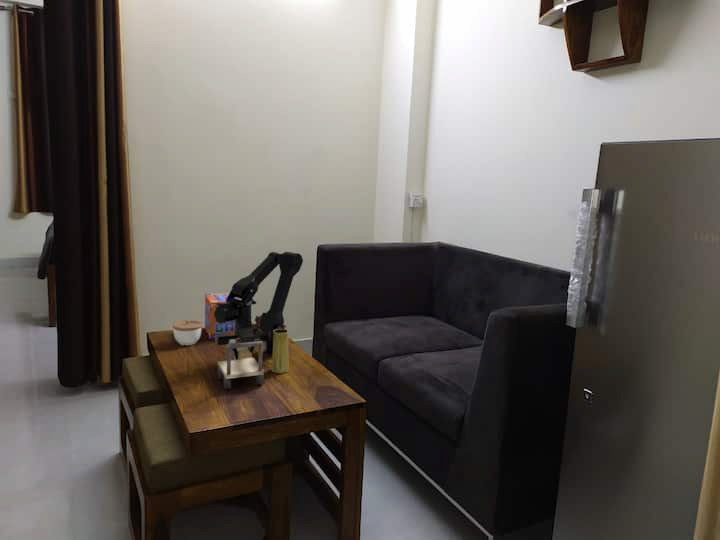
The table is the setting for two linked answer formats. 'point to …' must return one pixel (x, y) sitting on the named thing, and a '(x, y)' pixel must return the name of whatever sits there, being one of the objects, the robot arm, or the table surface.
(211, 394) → the table surface
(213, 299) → the game box
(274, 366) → the vase
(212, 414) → the table surface
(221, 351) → the table surface
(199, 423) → the table surface
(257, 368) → the trolley
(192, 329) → the lidded jar
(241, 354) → the block
